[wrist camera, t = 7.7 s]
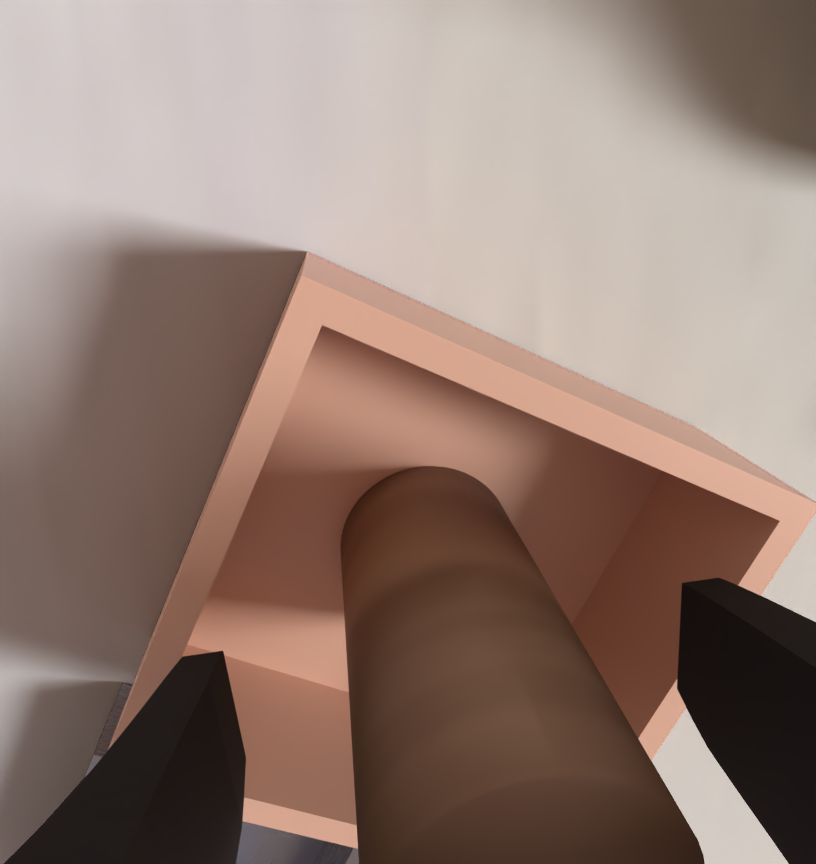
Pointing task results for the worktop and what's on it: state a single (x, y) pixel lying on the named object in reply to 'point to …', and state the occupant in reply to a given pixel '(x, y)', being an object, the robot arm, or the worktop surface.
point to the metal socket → (259, 846)
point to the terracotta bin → (467, 452)
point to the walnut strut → (482, 697)
